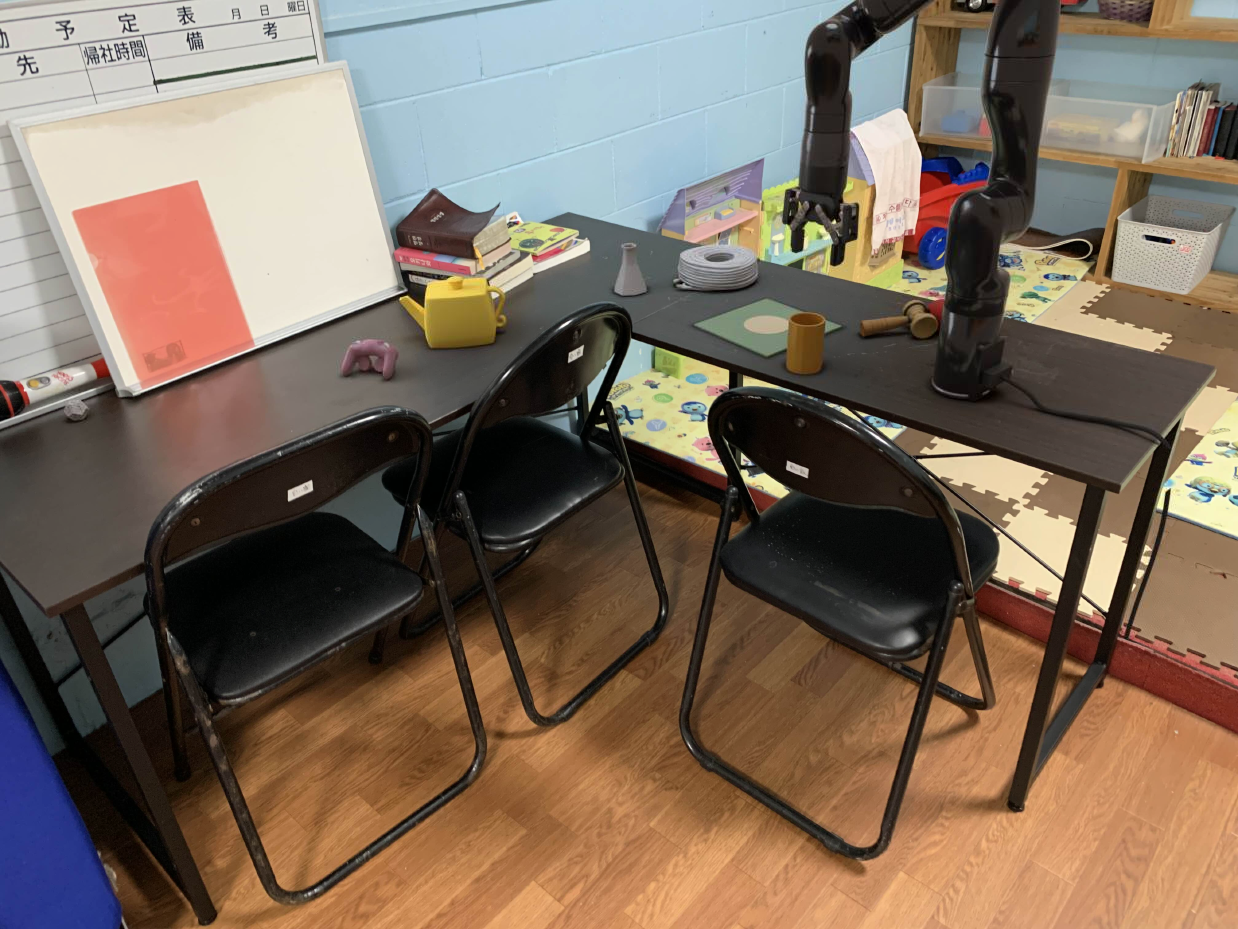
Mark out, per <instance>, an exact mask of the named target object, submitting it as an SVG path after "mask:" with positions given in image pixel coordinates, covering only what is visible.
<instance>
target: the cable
mask: <svg viewBox="0 0 1238 929" xmlns="http://www.w3.org/2000/svg"><path fill="white" fill-rule="evenodd" d="M678 261H679V262H678V266H677V273H678V274H677V275H678V278H675V279H673V281H672V283H673V284H674V285H675V287H676V289H679V290H683V291H692V290H693V291H700V292H701V291H702V292H706V291H708V292H709V291H728V290H729V291H730V290H738V289H739V290H740V289H743V288H745V287H748V286H750V285H751V284H753V283H754V282H755V281H756V280H757V278H758V276H759V269H758V266H759V265H758V256H757V254H756V252H755V251H753V250H752V249H750V248H748V247H745V246H741V245H735V244H707V245H701V246H697V247H692V248H690V249H689V248H688V249H686V250H684V251H682V252H681V253H680V254H679V260H678ZM682 282H683V283H682ZM680 283H682V284H680Z"/></svg>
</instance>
